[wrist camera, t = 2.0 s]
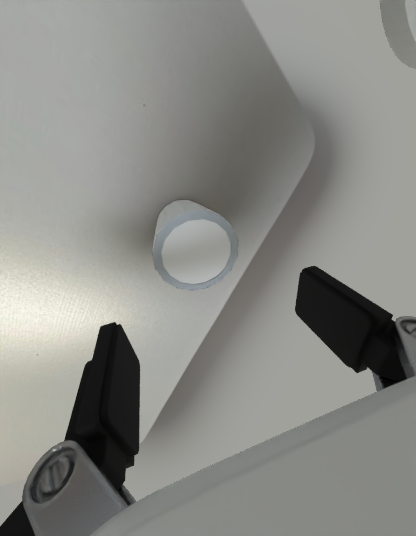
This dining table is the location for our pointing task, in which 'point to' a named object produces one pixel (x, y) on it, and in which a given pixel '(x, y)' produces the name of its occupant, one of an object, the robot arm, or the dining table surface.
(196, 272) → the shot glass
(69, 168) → the dining table surface
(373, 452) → the robot arm
